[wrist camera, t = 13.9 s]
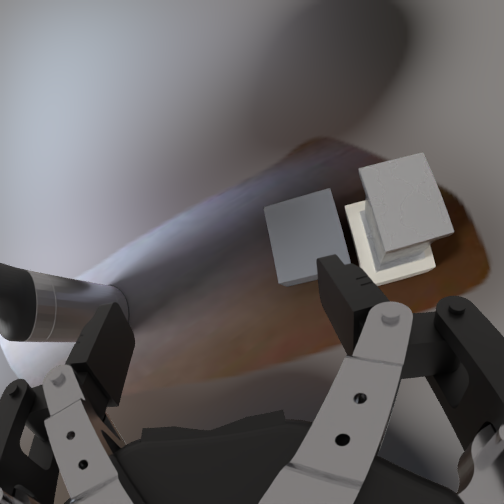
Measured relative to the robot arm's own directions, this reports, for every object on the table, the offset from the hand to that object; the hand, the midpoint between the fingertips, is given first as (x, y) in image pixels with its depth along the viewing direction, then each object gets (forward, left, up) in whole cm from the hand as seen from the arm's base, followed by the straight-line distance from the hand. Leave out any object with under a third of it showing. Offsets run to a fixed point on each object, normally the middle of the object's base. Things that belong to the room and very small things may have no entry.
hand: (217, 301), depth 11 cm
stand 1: (+2, +8, -25) cm, 26 cm away
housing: (+11, +5, -21) cm, 24 cm away
